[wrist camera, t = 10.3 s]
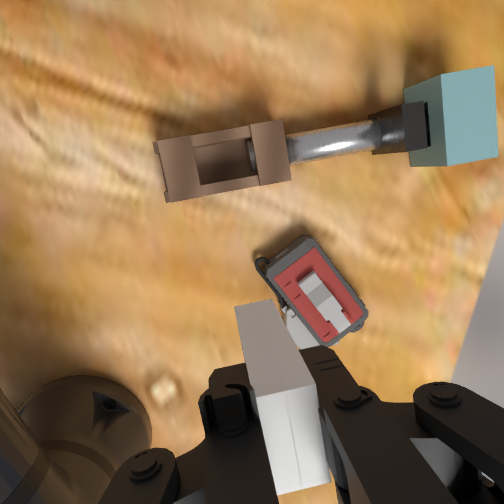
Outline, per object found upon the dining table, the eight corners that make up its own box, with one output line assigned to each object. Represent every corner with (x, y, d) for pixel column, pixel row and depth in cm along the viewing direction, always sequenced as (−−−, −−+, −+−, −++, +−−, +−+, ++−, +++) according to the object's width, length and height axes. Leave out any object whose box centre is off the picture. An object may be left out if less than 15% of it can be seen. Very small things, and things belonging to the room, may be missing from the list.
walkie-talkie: (237, 270, 45) (338, 396, 50) (240, 281, 41) (351, 417, 45) (300, 221, 45) (397, 352, 49) (310, 226, 41) (415, 369, 45)
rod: (251, 177, 43) (260, 178, 35) (244, 137, 42) (252, 130, 34) (435, 143, 44) (480, 138, 37) (432, 104, 43) (478, 91, 36)
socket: (410, 166, 45) (447, 166, 38) (403, 89, 43) (440, 74, 36) (453, 158, 45) (498, 156, 38) (448, 81, 43) (494, 65, 37)
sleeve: (169, 200, 43) (165, 203, 38) (157, 144, 41) (151, 141, 37) (282, 178, 43) (291, 180, 39) (274, 124, 42) (282, 118, 38)
